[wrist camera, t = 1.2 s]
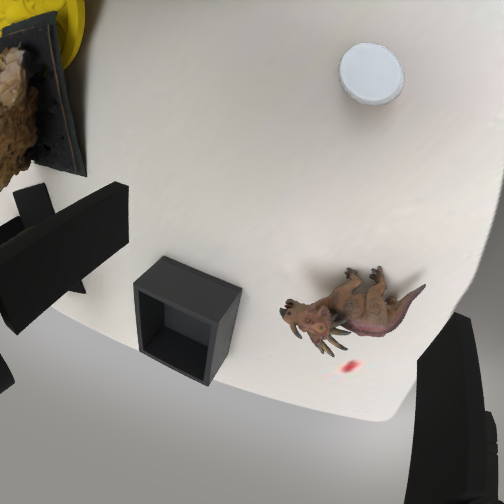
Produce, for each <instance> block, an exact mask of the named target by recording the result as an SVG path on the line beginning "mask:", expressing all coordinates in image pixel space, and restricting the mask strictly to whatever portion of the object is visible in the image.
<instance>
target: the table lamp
mask: <svg viewBox="0 0 504 504" xmlns="http://www.w3.org/2000/svg"><path fill="white" fill-rule="evenodd" d="M13 196H14V199H15V202H16V205H17V208H18V211H19V214H20V216H17V217H15V218H13V219H12V220H10V221H8V222H7V223H5V224H3V225H2V226H0V245H2V244H3V243H5V242H8V240H9V239H11V238H12V237H16V235H17V234H19V233H20V232H22V231H23V230H25V229H27V228H29V227H32V226H35V225H38V224H39V223H41V222H43V221H44V220H46V219H48V218H49V217H51V216H53V215H54V211H53V208H52V205H51V202H50V199H49V196H48V193H47V190H46V187H45V184H44V183H42V184H38V185H35V186H31V187H28V188H25V189H22V190H18V191H15V192H13ZM69 291H72V292H77V293H82V294H85V290H84V288H83V286H82V283H81V281H79V282H78V283H77V284H76V285H75V286H73V287H72V288H71V289H70V290H69ZM14 383H15V381H14V378H13V375H12V373H11V371H10V369H9V368H8V366H7V364H6V362H5V361H4V359H3V357H2V356H1V354H0V394H1V393H2V392H3V391H5V390H6V389H8V388H9V387H10V386H12V385H13V384H14Z"/></svg>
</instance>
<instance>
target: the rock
mask: <svg viewBox="0 0 504 504" xmlns="http://www.w3.org/2000/svg"><path fill="white" fill-rule="evenodd" d="M57 13H58V12H56V11H51V12H46V13H42V14H39V15H36V16H34V17H30V18H28V19H25V20H22V21H20V22H17V23H12V24H11V25H10V26H5V27H3V28H2V30H0V31H2V35H1V37H0V192H1V190H2V189H3V188H4V187H7V185H8V184H9V182H10V179H11V178H12V176H13V175H14V174H15V175H18V174H19V172H20V171H26V170H28V168H29V166H30V163H32V162H31V160H34V161H35V162H33V163H35V164H38V165H42V166H47V167H50V168H53V169H56V170H59V171H65V172H68V173H72V174H76V175H80V176H84V177H87V175H86V171H85V169H84V166H83V161H82V155H81V153H80V149H79V145H78V142H77V137H76V130H75V126H74V121H73V115H72V113H71V110H70V105H69V99H68V94H67V85H66V80H65V76H64V72H63V68H62V63H61V57H60V52H59V41H58V34H57V26H56V16H57ZM46 65H48V67H49V70H48V72H47V74H46V76H45V78H44V72H45V69H46ZM55 99H56V100H57V101H58V102H55ZM44 142H45V144H46V145H47V146H49V147H51V150H49V151H46V150H45V148H44Z"/></svg>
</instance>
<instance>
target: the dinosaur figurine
mask: <svg viewBox="0 0 504 504" xmlns="http://www.w3.org/2000/svg"><path fill="white" fill-rule="evenodd" d="M347 270H348V272H345V274H346V275H347V277H346V278H347V279H348V278H350V279H351V281H349V282H348V283H347V284H345V285H344V286H340V287H337V288H336V289H335V290H334V291H333V292H332V294H331V295H330V296H328V297H326V298H323V299H320V300H318V301H317V302H315V303H312V304H311V305H305V304H301V303H299V302H297V301H294V300H292V299H288V300H286V302H285V303H286V304H287V305H285V306H284V307H286V308H287V309H283V308H280V314H281V316H282V317H283V319H284V320H285V321H286V322H287V323H288V324H290V327H291V330H292V331H293V333H294V334H295V335H296V336H297V337H298V338H300V339H302V337H301V335H300V334H299V332H298V331H297V328H296V325H298V327H299V329H300V330H302V331H303V332H306V331H307V333H308V335H309V336H310V339H311V340H312V342H313V343H314V344H315V346H316V347H318V348H319V350H320V351H321V353H322V354H324V351H326V352H327V353H328V354H329V355H331V356H332V357H334V354H333V352H332V351H331V350H330V348H329V347H328V346H327V345H326V344H325V343H324V342H323V340H326V339H327V340H328V341H329V342H330V343H332V344H333V345H334V346H336V347H338V348H340V349H342V350H348V349H347V348H345V347H344V346H342V345H341V344H339V343H338V342H337V341H336V340H335V339H334V338H333V337H332V336H331V335H330V334H332V335H348V334H351V332H348V331H344V330H340V329H337V328H335V327H337V326H339V325H341V326H342V327H344V328H345V329H347V330H350V331H352V332H354V333H356V334H358V335H359V336H372V337H384V335H385V334H386V333H389V332H391V331H392V330H394V329H396V327H398V325H399V324H400V323H401V322H402V321H403V319H404V317H405V314H406V313H407V311H408V308H409V306H410V304H411V302H412V301H413V300H414V299H415V298H416V297H417V296H418V295H419V294H420V293H421V292H422V290H423V289H424V288H425V287H426V284H424V285H422V286H421V287H419V288H417V289H416V290H414V291H412V292H410V293H408V294H407V295H406V296H405V297H403V298H402V299H401V300H400V301H398V302H397V299H396V298H392V297H391V296H390V297H389V298H388V299H385V301H384V299H383V298H382V296H383V294H384V292H385V289H386V288H387V285H386V283H385V280H384V275H383V271H382V268H381V266H379V267H378V270H377V271H376V270H375V269H372V273H373V275H370V276H369V277H370V278H371V279H373V280H375V282H377V283H378V284H376V285H375V286H373V287H370V288H369V290H368V291H367V294H362V293H354V294H353V293H352V291H354V290H355V289H356V288H358V287H359V286H360V285H361V284H362V282H361V280H360V279H359V278H358V277H357V276H356V273H357V272H355V270H353V271H352V270H351V269H350V268H347ZM385 302H387V304H386V303H385Z"/></svg>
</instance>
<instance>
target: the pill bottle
mask: <svg viewBox="0 0 504 504" xmlns="http://www.w3.org/2000/svg"><path fill="white" fill-rule="evenodd" d="M339 78H340V82H341V84H342V86H343V88H344V89H345V91H346V92H347V93H348V94H349V95H350V96H351V97H352V98H353V99H355V100H356V101H358V102H360V103H363V104H366V105H371V106H380V105H384V104H387V103H389V102H391V101H392V100H394V99H395V98H396V97H397V96H398V95H399V94H400V92H401V90H402V88H403V85H404V71H403V67H402V65H401V63H400V61H399V59H398V58H397V57H396V55H395V54H394V53H393V52H392V51H390V50H389V49H387V48H386V47H384V46H382V45H379V44H376V43H368V42H366V43H359V44H356V45H354V46H352V47H351V48H349V49H348V50H347V51H346V52H345V53H344V55H343V56H342V58H341V60H340V64H339Z"/></svg>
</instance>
